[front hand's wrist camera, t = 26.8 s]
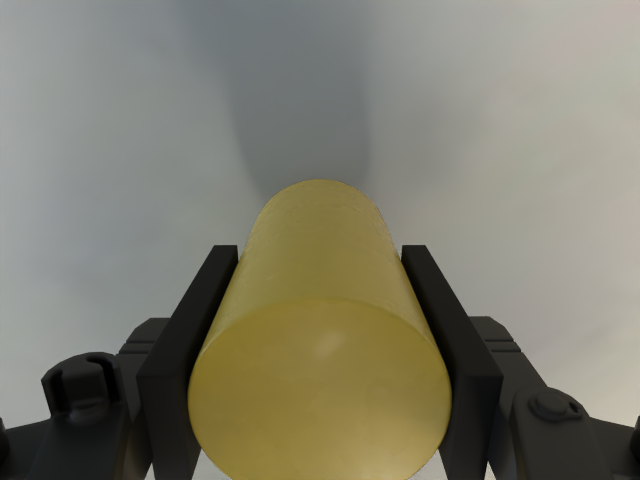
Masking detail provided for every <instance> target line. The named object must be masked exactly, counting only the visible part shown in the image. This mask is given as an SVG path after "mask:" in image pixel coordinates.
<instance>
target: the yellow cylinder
mask: <svg viewBox="0 0 640 480" xmlns="http://www.w3.org/2000/svg"><path fill="white" fill-rule="evenodd" d="M187 406H188V413H189V420H190V423H191V426H192V429H193V432H194V435H195V437H196V439H197V441H198V443H199V445H200V446H201V448H202V449H203V451H204V452H205V454H206V455H207V457H208V458H209V459H210V460H211V461H212V462H213V463H214V464H215V465H216V467H218V468H219V469H220V470H221V471H222V472H223V473H224V474H226V475H227V476H228V477H229V478H231V479H232V480H407V479H409V478H410V477H412V476H413V475H414V474H415V473H416V472H418V471H419V470H420V469H421V468H422V467H423V466H424V465H425V464H426V463H427V462H428V461H429V460H430V458H431V457H432V456H433V455H434V453H435V452H436V450H437V449H438V447H439V446H440V444H441V442H442V440H443V438H444V436H445V434H446V431H447V428H448V425H449V422H450V417H451V410H452V387H451V382H450V377H449V374H448V371H447V369H446V366H445V363H444V361H443V359H442V356H441V354H440V352H439V349H438V347H437V344H436V342H435V340H434V337H433V335H432V333H431V330H430V328H429V326H428V323H427V321H426V319H425V316H424V314H423V312H422V309H421V307H420V305H419V302H418V300H417V298H416V295H415V293H414V290H413V288H412V286H411V283H410V281H409V279H408V276H407V274H406V272H405V269H404V267H403V265H402V262H401V260H400V258H399V255H398V253H397V251H396V248H395V246H394V243H393V241H392V239H391V236H390V234H389V232H388V229H387V227H386V225H385V222H384V220H383V218H382V216H381V214H380V212H379V210H378V209H377V207H376V206H375V205H374V203H373V202H372V201H371V200H370V199H369V198H368V197H367V196H366V195H364V194H363V193H362V192H360V191H359V190H357V189H355V188H354V187H352V186H350V185H347V184H345V183H342V182H338V181H334V180H327V179H313V180H306V181H302V182H298V183H295V184H293V185H290V186H288V187H286V188H285V189H283V190H281V191H280V192H278V193H277V194H276V195H274V196H273V197H272V198H271V199H270V200H269V201H268V202H267V203H266V205H265V206H264V207H263V209H262V210H261V212H260V214H259V216H258V218H257V220H256V222H255V225H254V227H253V229H252V232H251V234H250V236H249V239H248V241H247V243H246V246H245V248H244V250H243V253H242V255H241V257H240V260H239V262H238V264H237V267H236V269H235V271H234V274H233V276H232V278H231V281H230V283H229V285H228V288H227V290H226V292H225V295H224V297H223V299H222V302H221V304H220V306H219V309H218V311H217V313H216V316H215V318H214V320H213V323H212V325H211V327H210V330H209V332H208V334H207V337H206V339H205V341H204V344H203V346H202V348H201V351H200V353H199V355H198V358H197V360H196V362H195V365H194V368H193V370H192V373H191V376H190V380H189V385H188V393H187Z"/></svg>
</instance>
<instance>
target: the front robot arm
mask: <svg viewBox="0 0 640 480" xmlns="http://www.w3.org/2000/svg"><path fill="white" fill-rule="evenodd" d="M401 262H402V265H403V267H404V269H405V272H406V274H407V276H408V279H409V281H410V283H411V286H412V288H413V290H414V293H415V295H416V298H417V300H418V302H419V305H420V307H421V309H422V312H423V314H424V316H425V319H426V321H427V323H428V326H429V328H430V330H431V333H432V335H433V337H434V340H435V342H436V344H437V347H438V349H439V352H440V354H441V356H442V359H443V361H444V363H445V366H446V369H447V371H448V374H449V377H450V382H451V387H452V410H451V417H450V422H449V425H448V428H447V431H446V434H445V436H444V438H443V440H442V442H441V444H440V446H439V447H438V449H439V453H440V456H441V459H442V462H443V465H444V469H445V472H446V475H447V478H448V480H484V478H485V473H486V468H487V463H488V462H489V464H490V466H491V469H492V471H493V473H494V476H495V478H496V480H640V416H639V417H638V419H637V422H636V425H635V428H633V427H629V426H625V425H620V424H616V423H611V422H607V421H602V420H599V419H595V418H592V417H589V415H588V413H587V412H586V410H585V409H584V407H583V406H582V405H581V404H580V403H579V402H577V401H576V400H575V399H574V398H573V397H571V396H569V395H567V394H565V393H563V392H561V391H559V390H557V389H554V388H550V387H547V385H546V384H545V382H544V381H543V380H542V378H541V377H540V375H539V374H538V373H537V371H536V370H535V369H534V367H533V366H532V364H531V363H530V362H529V360H528V359H527V357H526V356H525V355H524V353H523V352H521V349H520V348H519V346H518V345H517V344H516V342H514V339H513V338H512V337H511V335H510V334H509V332H508V331H507V330H506V328H505V327H504V326H502V325H501V324H499V323H498V322H497V321H495V320H494V319H492V318H491V317H489V316H468V315H467V314H466V312H465V310H464V309H463V307H462V305H461V304H460V302H459V300H458V299H457V297H456V295H455V294H454V292H453V290H452V289H451V287H450V285H449V284H448V282H447V280H446V279H445V277H444V276H443V274H442V272H441V271H440V269H439V267H438V266H437V264H436V262H435V261H434V259H433V257H432V256H431V254H430V252H429V251H428V249H427V247H426V246H425V245H402V256H401ZM237 264H238V249H237V245H214V247H213V248H212V250H211V252H210V253H209V255H208V257H207V258H206V260H205V262H204V263H203V265H202V266H201V268H200V270H199V271H198V273H197V275H196V276H195V278H194V280H193V281H192V283H191V285H190V286H189V288H188V290H187V291H186V293H185V295H184V296H183V298H182V300H181V301H180V303H179V305H178V306H177V308H176V310H175V311H174V313H173V314H172V316H171V318H149V319H148V320H147V321H145V322H144V323H142V324H141V325H139V326H138V327H137V328H135V329H134V331H133V332H132V334H131V335H130V336H129V338H128V339H127V341H126V343H124V345H123V346H122V348H121V349H120V350H119V354H116V356H114V355H113V354H109V353H105V352H89V353H85V354H81V355H77V356H73V357H71V358H69V359H66V360H64V361H62V362H60V363H58V364H57V365H55V366H54V367H53V368H51V369H50V370H48V371H47V373H46V374H45V375H44V377H43V378H42V379H41V382H42V386H43V389H44V393H45V396H46V400H47V403H48V406H49V410H50V413H51V418H50V419H47V420H44V421H41V422H37V423H32V424H28V425H23V426H19V427H15V428H10V429H6V430H5V427H4V424H3V421H2V418H0V480H144V479H145V477H146V474H147V472H148V470H149V467H150V465H151V463H152V465H153V470H154V475H155V480H192V477H193V474H194V470H195V467H196V464H197V461H198V458H199V454H200V451H201V446H200V445H199V443H198V441H197V439H196V437H195V435H194V432H193V429H192V426H191V423H190V420H189V413H188V406H187V393H188V385H189V380H190V376H191V373H192V370H193V368H194V365H195V362H196V360H197V358H198V355H199V353H200V351H201V348H202V346H203V344H204V341H205V339H206V337H207V334H208V332H209V330H210V327H211V325H212V323H213V320H214V318H215V316H216V313H217V311H218V309H219V306H220V304H221V302H222V299H223V297H224V295H225V292H226V290H227V288H228V285H229V283H230V281H231V278H232V276H233V274H234V271H235V269H236V267H237Z"/></svg>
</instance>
